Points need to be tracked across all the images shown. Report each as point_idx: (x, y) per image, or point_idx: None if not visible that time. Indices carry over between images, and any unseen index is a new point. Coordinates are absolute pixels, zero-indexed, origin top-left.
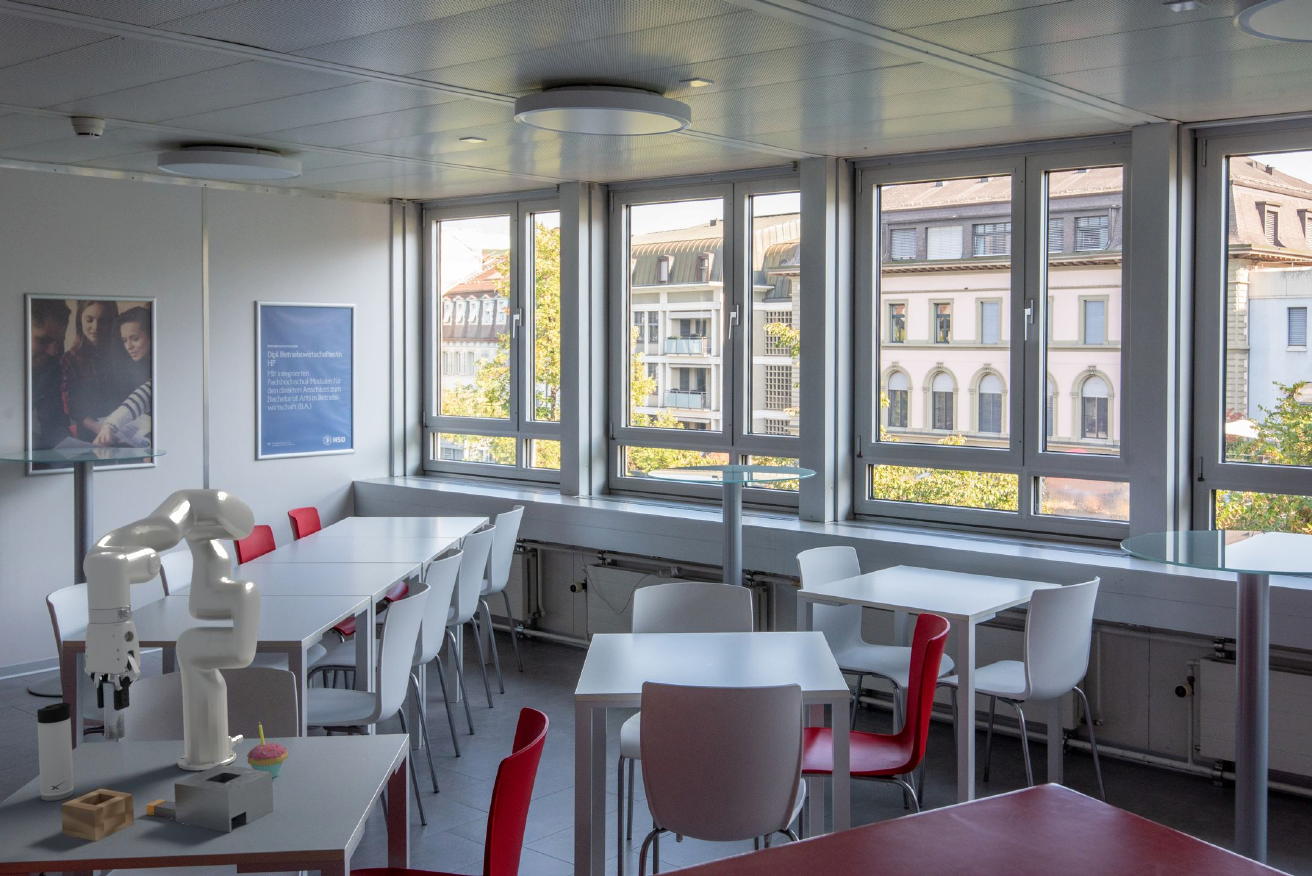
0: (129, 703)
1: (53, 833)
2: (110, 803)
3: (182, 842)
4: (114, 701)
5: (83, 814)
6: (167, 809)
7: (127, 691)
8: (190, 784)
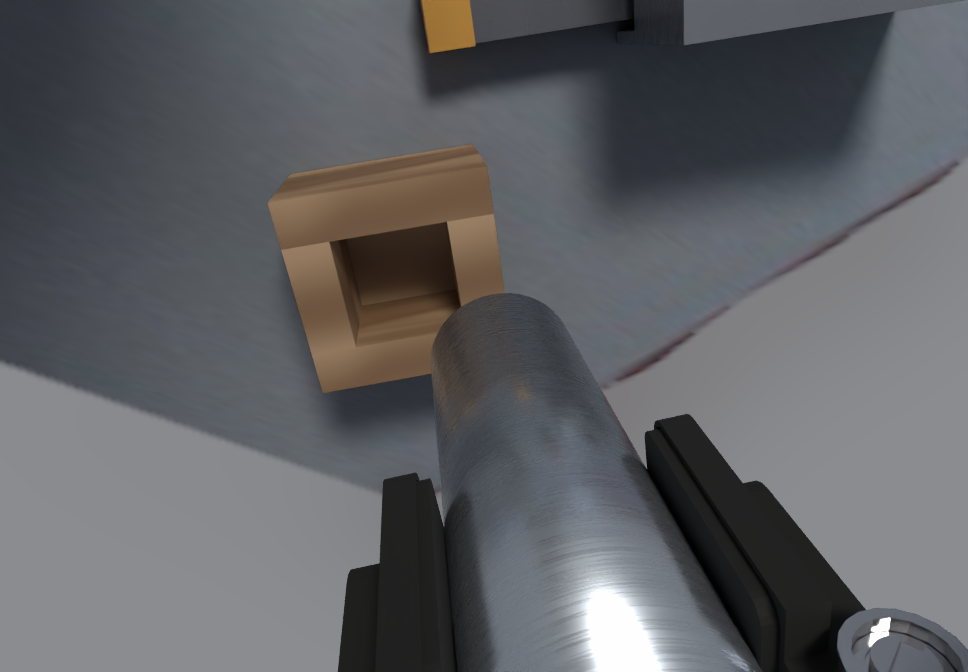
0: (695, 423)
1: (296, 349)
2: (501, 285)
3: (787, 158)
4: None
5: None
6: (556, 30)
7: (851, 604)
8: (779, 9)
